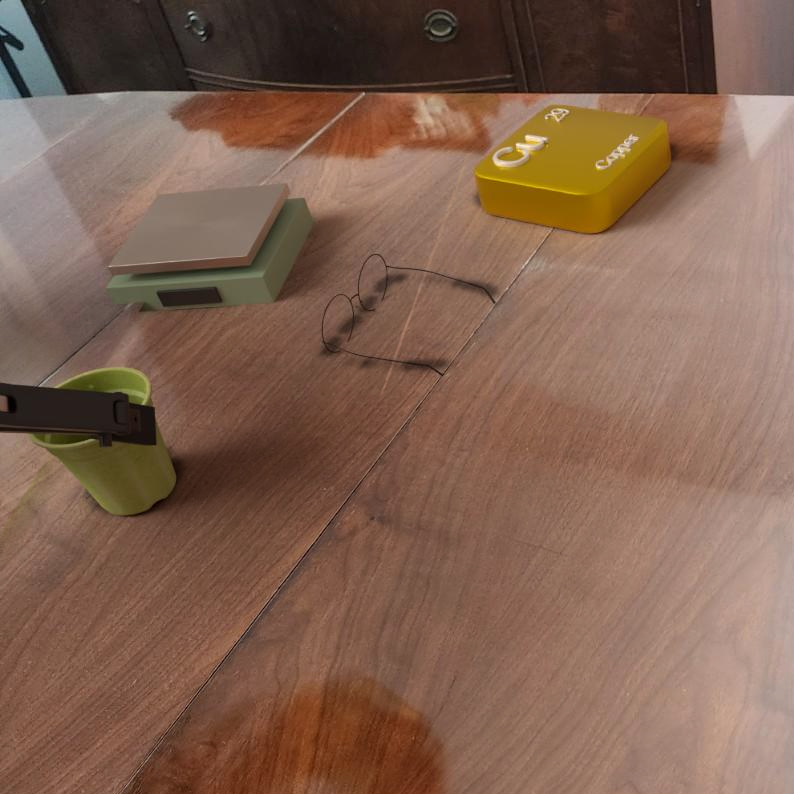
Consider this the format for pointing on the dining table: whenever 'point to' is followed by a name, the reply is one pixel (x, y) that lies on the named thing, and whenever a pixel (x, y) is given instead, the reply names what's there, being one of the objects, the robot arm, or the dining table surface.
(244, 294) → the scale
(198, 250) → the weighing pan
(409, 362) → the eyeglasses
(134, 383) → the plant pot
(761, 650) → the dining table surface
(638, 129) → the element tile
